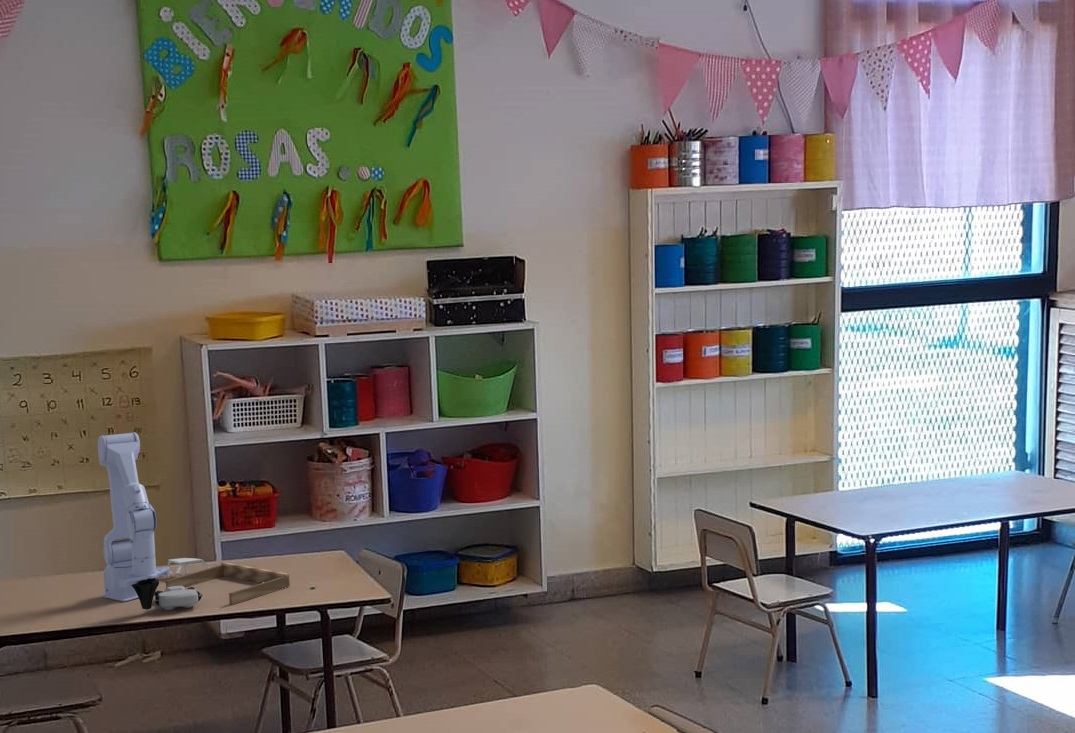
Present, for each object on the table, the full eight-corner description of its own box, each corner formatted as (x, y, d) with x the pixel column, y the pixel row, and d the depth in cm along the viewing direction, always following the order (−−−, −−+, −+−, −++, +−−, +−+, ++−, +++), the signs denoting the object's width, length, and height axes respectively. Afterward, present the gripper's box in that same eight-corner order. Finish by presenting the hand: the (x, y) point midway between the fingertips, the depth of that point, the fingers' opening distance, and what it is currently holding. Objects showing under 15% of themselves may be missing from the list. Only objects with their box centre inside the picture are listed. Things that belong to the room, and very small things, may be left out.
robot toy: (151, 604, 362) (155, 614, 348) (149, 587, 362) (154, 597, 348) (198, 598, 367) (204, 609, 352) (197, 582, 366) (203, 591, 352)
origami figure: (165, 582, 381) (164, 565, 381) (167, 575, 389) (166, 558, 389) (209, 579, 383) (208, 562, 383) (211, 572, 391) (210, 555, 391)
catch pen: (166, 591, 371) (165, 578, 371) (224, 574, 388) (223, 562, 387) (232, 605, 356) (231, 591, 356) (289, 586, 373) (289, 573, 372)
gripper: (130, 564, 340) (133, 617, 342) (176, 552, 352) (179, 603, 353) (112, 560, 344) (115, 613, 346) (158, 548, 356) (161, 600, 357)
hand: (146, 608), depth 350 cm, fingers closed
